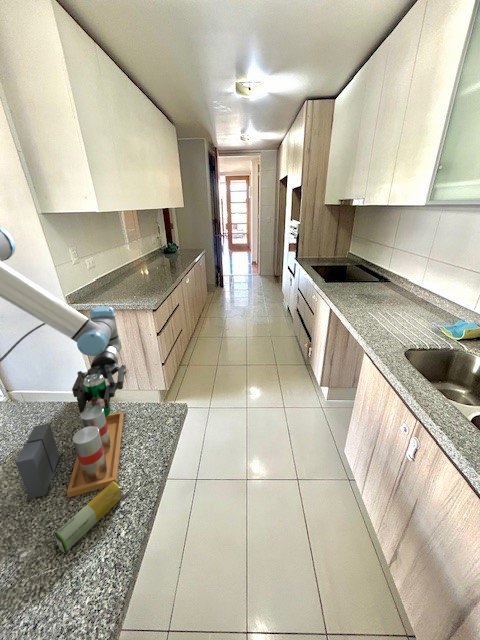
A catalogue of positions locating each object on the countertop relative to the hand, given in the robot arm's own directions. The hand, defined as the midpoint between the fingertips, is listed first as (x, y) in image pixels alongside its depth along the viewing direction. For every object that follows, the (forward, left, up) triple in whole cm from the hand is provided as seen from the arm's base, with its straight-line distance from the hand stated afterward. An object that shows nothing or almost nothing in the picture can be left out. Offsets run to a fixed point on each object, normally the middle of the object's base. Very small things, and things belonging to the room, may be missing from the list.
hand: (93, 405), depth 66 cm
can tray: (+2, 0, -13) cm, 13 cm away
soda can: (-5, 0, -7) cm, 9 cm away
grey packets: (+6, -11, -13) cm, 18 cm away
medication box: (+21, +1, -13) cm, 24 cm away
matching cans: (+6, 0, -12) cm, 13 cm away
